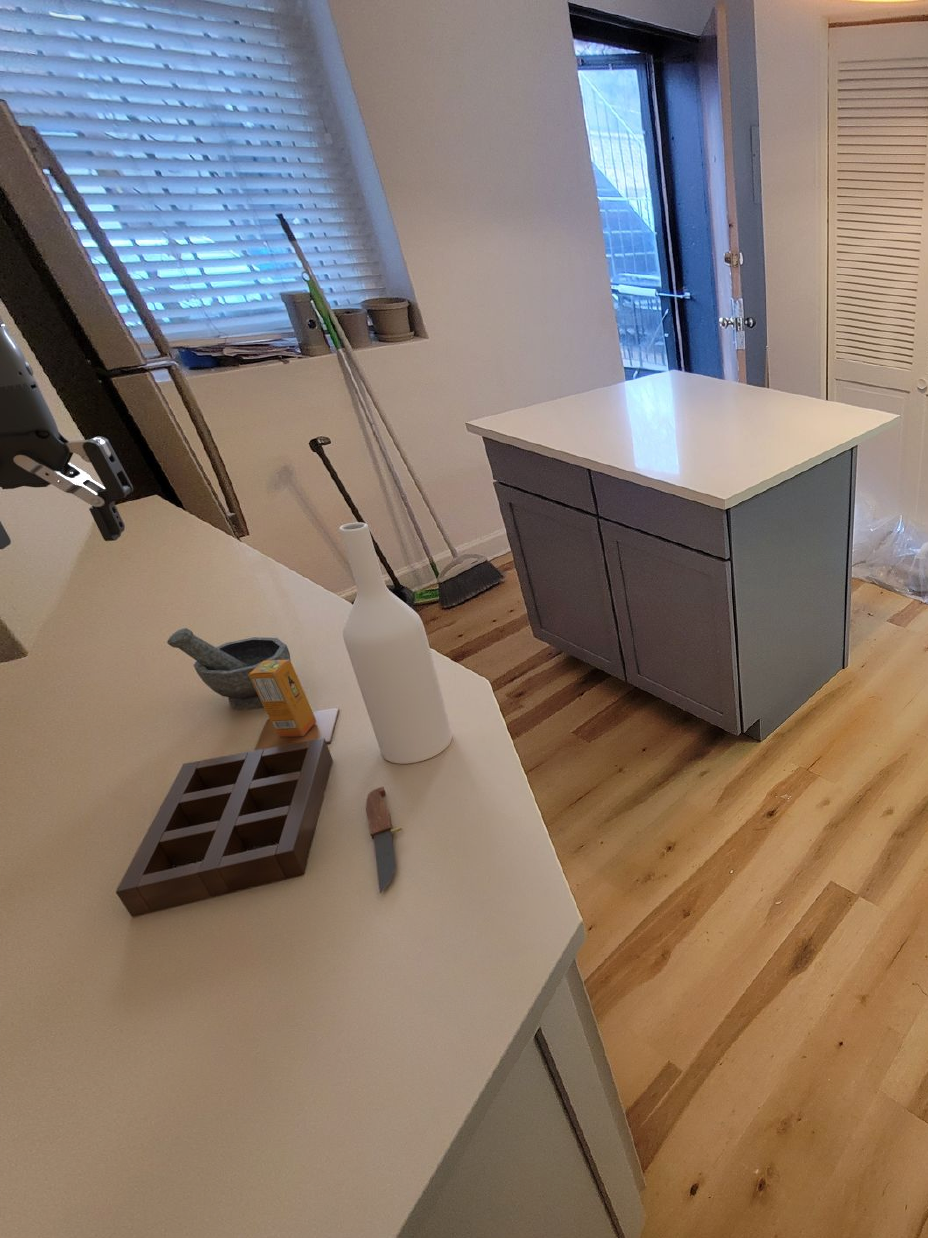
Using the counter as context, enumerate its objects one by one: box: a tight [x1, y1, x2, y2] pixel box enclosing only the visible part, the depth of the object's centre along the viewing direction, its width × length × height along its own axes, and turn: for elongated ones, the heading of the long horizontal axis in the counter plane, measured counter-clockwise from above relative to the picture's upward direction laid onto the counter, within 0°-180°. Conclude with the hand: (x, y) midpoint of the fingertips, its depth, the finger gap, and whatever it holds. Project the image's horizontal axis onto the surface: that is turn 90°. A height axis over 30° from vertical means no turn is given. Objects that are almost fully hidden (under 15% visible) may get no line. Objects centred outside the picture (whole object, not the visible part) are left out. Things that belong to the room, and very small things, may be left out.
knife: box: [365, 786, 404, 894], centre depth 75 cm, size 17×1×3 cm
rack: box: [115, 738, 334, 918], centre depth 75 cm, size 14×20×4 cm
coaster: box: [253, 707, 340, 751], centre depth 90 cm, size 8×8×1 cm
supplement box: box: [248, 660, 316, 737], centre depth 87 cm, size 3×3×10 cm
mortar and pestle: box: [166, 627, 292, 710], centre depth 93 cm, size 11×9×12 cm
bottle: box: [338, 521, 453, 765], centre depth 82 cm, size 8×8×30 cm
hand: (59, 542), depth 71 cm, fingers open, 8 cm apart
